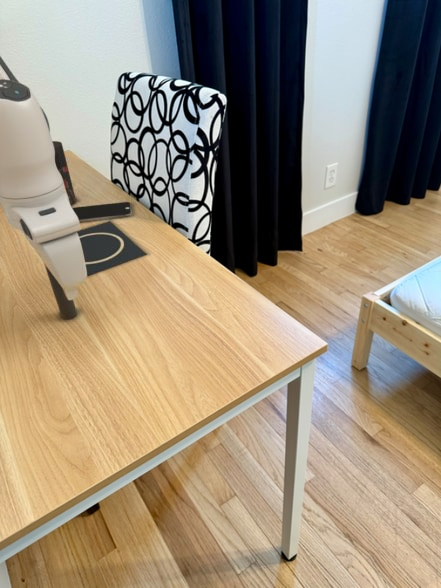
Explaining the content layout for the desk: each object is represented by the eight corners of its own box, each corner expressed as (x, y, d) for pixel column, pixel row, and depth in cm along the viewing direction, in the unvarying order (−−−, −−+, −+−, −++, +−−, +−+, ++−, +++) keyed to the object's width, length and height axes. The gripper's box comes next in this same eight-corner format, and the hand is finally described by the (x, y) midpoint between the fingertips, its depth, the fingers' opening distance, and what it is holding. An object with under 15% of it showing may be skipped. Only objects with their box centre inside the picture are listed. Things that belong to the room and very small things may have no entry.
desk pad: (72, 282, 82) (72, 280, 82) (42, 243, 95) (42, 241, 94) (147, 255, 89) (147, 253, 89) (110, 222, 102) (109, 220, 102)
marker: (64, 322, 73) (43, 257, 65) (59, 314, 74) (38, 250, 67) (80, 316, 74) (60, 251, 66) (74, 308, 76) (55, 244, 68)
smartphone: (131, 214, 103) (67, 221, 101) (132, 217, 104) (68, 224, 101) (130, 201, 109) (70, 207, 107) (131, 203, 110) (70, 210, 107)
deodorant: (47, 204, 111) (30, 146, 102) (66, 196, 115) (51, 139, 106) (62, 210, 108) (46, 150, 99) (81, 201, 112) (67, 143, 103)
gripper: (-3, 189, 67) (25, 263, 76) (35, 238, 54) (64, 322, 62) (37, 178, 70) (60, 251, 78) (83, 223, 56) (105, 305, 65)
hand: (62, 283), depth 70 cm, fingers open, 8 cm apart
